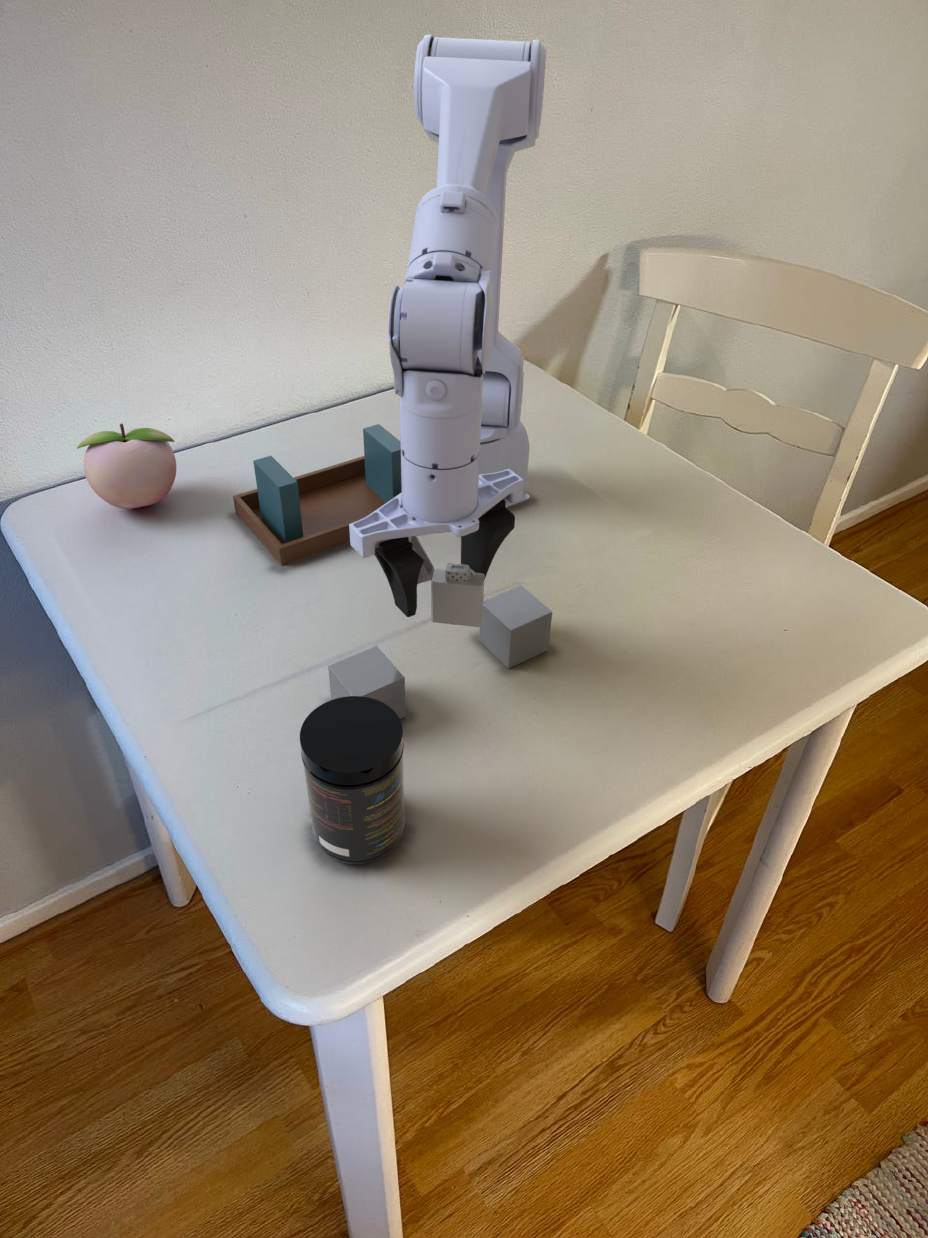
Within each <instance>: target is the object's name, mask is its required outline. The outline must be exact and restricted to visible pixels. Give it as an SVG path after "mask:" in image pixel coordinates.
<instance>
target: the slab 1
mask: <svg viewBox="0 0 928 1238" xmlns="http://www.w3.org/2000/svg"><path fill="white" fill-rule="evenodd" d="M253 470H254V476H255V482H256V483H255V484H256V489H257V490H258V497H259V504H260V511H261V518H262V519H263V521H264V522H265V523H266V524H267V525H268V526H269V527H270V528H271V530H272V531H273V532H274V533H275V534H276V535H277V536H278V537H279V539H280V540H281V541H282V542H283V543H284V544H285V543H288V542H291V541H294V540H297V539H300V538H302V537H303V528H302V519H301V510H300V500H299V491H298V482H297V481H296V480H295V479H294V477H293V476H292V475H291V473H289V472H288V471H287V470H286V469H285V468H284V467H283V465H281V464H280V462H278V461H277V460H276V459H275V458H274V457H273V455H268V456H264V457H260V458H257V459H255V460H253Z"/></svg>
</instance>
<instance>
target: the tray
mask: <svg viewBox="0 0 928 1238" xmlns="http://www.w3.org/2000/svg"><path fill="white" fill-rule="evenodd" d="M293 478H294V479H295V480H296V481H297V482H298V491H299V500H300V510H301V519H302V528H303V537H302V538H300V539H297V540H294V541H291V542H288V543H285V544H284V543H283V542H282V541H281V540H280V539H279V537H278V536H277V535H276V534H275V533H274V532H273V531H272V530H271V528H270V527H269V526H268V525H267V524H266V523H265V522H264V521H263V519H262V518H261V511H260V504H259V497H258V490H257V488H255V489H252V490H248V491H244V492H242V493H238V494H236V495H233V496H232V500H233V506H234V513H235V514H236V516H237V517H239V519H240V520H241V521H242V523H243V524H244V525H245V526H246V527H247V528H248V529H249V530H250V531H251V532H252V534H253V535H254V536H255V537H256V538H257V540H258V541H259V542H260V543H261V544H262V545H263V547H264V548H265V549H266V550H267V552H269V553H270V555H271V556H272V557H273V558H274V559H275V561H277V563H278V564H279V565H280V567H283V566H285V565H289V564H291V563H294V562H296V561H299V560H302V559H306V558H308V557H311V556H313V555H317V554H319V553H322V552H325V551H327V550H331V549H334V548H336V547H339V546H342V545H345V544H347V543H350V530H349V524H351V523H354V522H356V521H359V520H361V519H363V518H365V517H366V516H368V515H370V514H371V513H373V512H374V511H376V510H377V509H378V508H380V507H381V506H383V505H384V504H386V502H384V501H383V500H382V499H381V498H380V497H379V496H378V495H377V494H376V493H375V492H373V491H372V490H371V489H370V488H369V487H368V486H367V485H366V477H365V457H364V455H362V456H359V457H356V458H353V459H349V460H346V461H342V462H339V463H337V464H333V465H329V466H327V467H323V468H320V469H317V470H313V471H311V472H310V471H309V472H307V473H304V474H301V475H300V474H299V475H298V476H294V477H293Z"/></svg>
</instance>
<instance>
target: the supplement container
mask: <svg viewBox="0 0 928 1238" xmlns="http://www.w3.org/2000/svg"><path fill="white" fill-rule="evenodd" d="M299 744H300V745H299V746H300V754H301V755H300V756H301V760H302V765H303V769H304V777H305V784H306V791H307V798H308V799H307V800H308V806H309V811H310V812H309V815H310V821H311V828H312V834H313V838H314V841H315V843H316V844H317V846H318V848H319V849H320V850H321V851H322V852H323V853H324V854H325V855H327V856H328V857H329V858H331V859H333V860H335V861H337V862H340V863H344V864H348V865H363V864H368V863H372V862H376V861H377V860H380V859H382V858H383V857H385V856H386V855H388V854H389V853H391V851H392V850H393V849H395V848H396V846H397V845H398V843H400V840H401V839H402V836H403V834H404V830H405V824H406V823H405V822H406V820H405V785H404V784H405V783H404V781H405V779H404V750H405V749H404V747H405V746H404V745H405V744H404V728H403V723H402V721H401V719H399V717H398V715H397V714H396V713H395V711H394V710H393V709H392V708H390V707H389V706H388V705H386V704H385V703H383V702H381V701H378V700H376V699H372V698H368V697H362V696H348V697H341V698H337V699H333V700H328V701H325V702H324V703H322V704H320V705H318V706H317V707H316V708H314V709H313V710H312V711H311V712H310V713H309V714H308V715H307V716H306V718H305V719H304V721H303V723H302V724H301V727H300V731H299Z"/></svg>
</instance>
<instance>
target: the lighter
mask: <svg viewBox="0 0 928 1238" xmlns="http://www.w3.org/2000/svg"><path fill="white" fill-rule="evenodd" d="M409 542H410V543H412V544H413V550H414V551H415V552H416V553H417V554H418V555H420V556H421V557H422V558H423V559H424V560H425V561H424V563H423V565H422V567H421V570H420V573H419V578H418V583H417V585H419V584H423V583H426V582H427V583H428V582H430V584H431V585H430V621H431V622H432V623H434V624H435V623H437V624H446V625H453V626H464V627H474V628H480V626H481V621H482V615H483V601H484V596H485V595H484V593H485V580H484V577H485V575H484V574H483V573H475V572H474V571H473V570H472V569H471V568H470V567H469V565H464V564H461V563H455V562H454V563H453V562H447V563H446V567H445V569H444V568H443V569H442V568H435V567H434V565H433V563H432V561H431V560H430V558H429V556H428V553H426V551H425V549H424V547H423V545H422V544H421V542H420V540H419V538H418V536H412V537H409Z"/></svg>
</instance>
